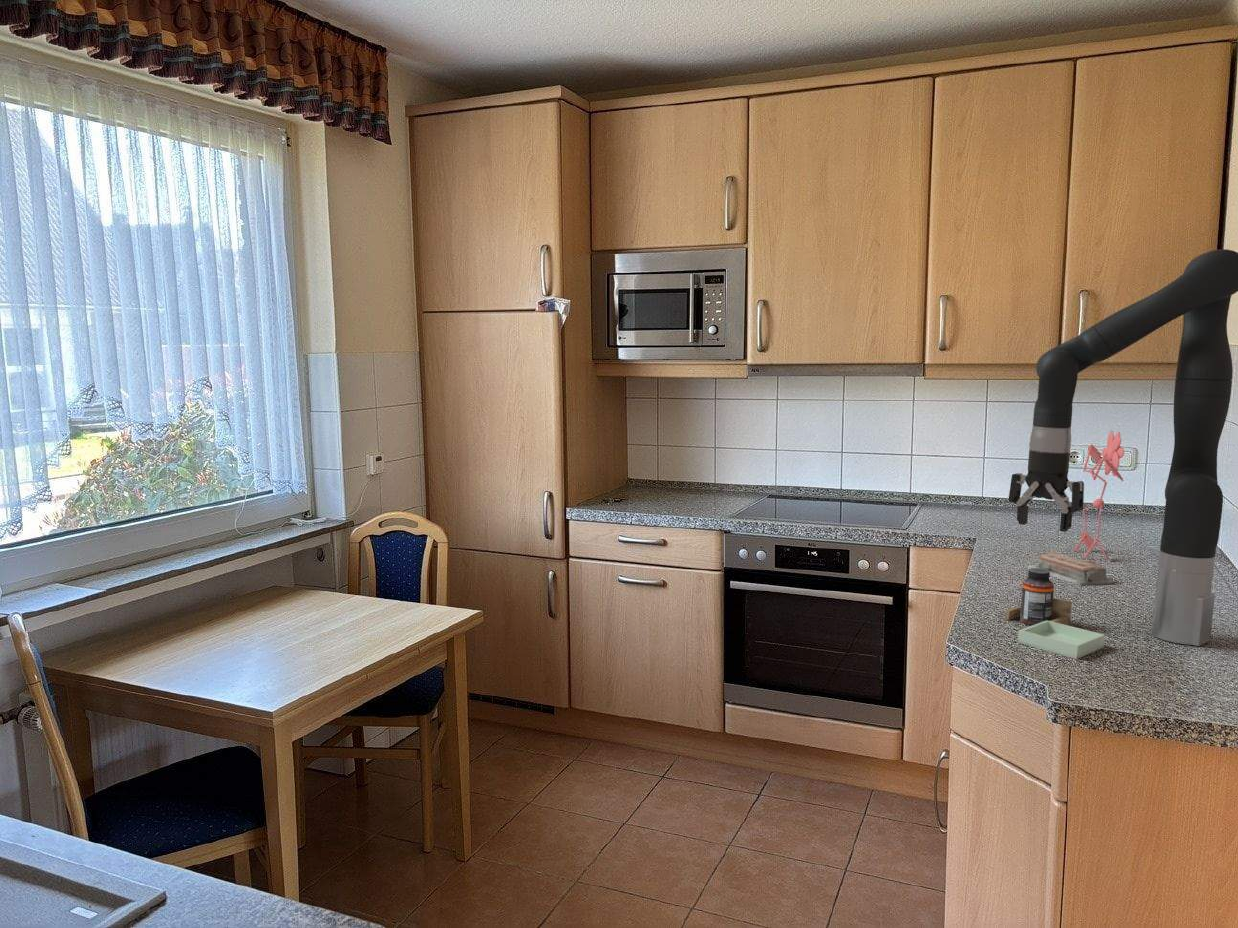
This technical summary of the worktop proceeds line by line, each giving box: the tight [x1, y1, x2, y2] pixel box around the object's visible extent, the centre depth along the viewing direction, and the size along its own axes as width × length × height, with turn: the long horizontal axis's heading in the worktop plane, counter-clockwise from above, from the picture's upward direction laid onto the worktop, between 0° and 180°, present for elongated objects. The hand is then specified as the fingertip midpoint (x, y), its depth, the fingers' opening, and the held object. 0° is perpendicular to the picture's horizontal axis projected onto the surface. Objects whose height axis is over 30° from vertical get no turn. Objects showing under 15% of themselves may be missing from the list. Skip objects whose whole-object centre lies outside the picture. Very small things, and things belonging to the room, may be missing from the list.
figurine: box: [1072, 430, 1125, 564], centre depth 248 cm, size 15×26×35 cm, turn 170°
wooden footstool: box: [1004, 596, 1072, 626], centre depth 188 cm, size 10×8×5 cm
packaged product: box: [1027, 551, 1112, 586], centre depth 229 cm, size 18×5×10 cm
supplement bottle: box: [1019, 568, 1055, 626], centre depth 187 cm, size 6×6×11 cm
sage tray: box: [1017, 620, 1106, 660], centre depth 174 cm, size 11×11×2 cm
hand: (1042, 527), depth 186 cm, fingers open, 8 cm apart
